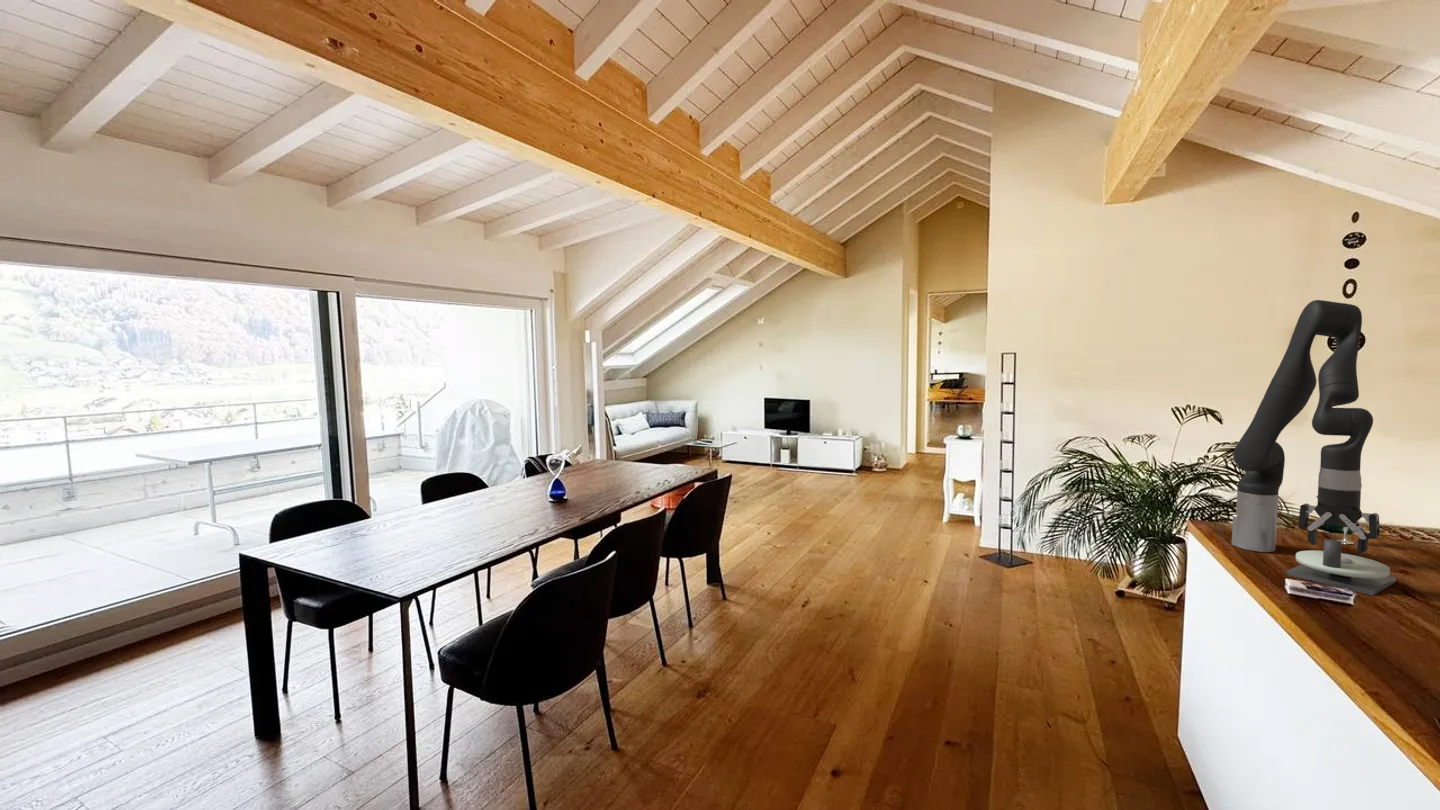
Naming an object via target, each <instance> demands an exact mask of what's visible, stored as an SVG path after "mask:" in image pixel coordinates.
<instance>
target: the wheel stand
mask: <svg viewBox="0 0 1440 810" xmlns="http://www.w3.org/2000/svg"><path fill="white" fill-rule="evenodd" d="M1286 576H1289V577H1294V578H1298V579H1302V578H1303V579H1304V580H1306V579H1307V581H1310V580H1312V581H1311V582H1314V581H1315V582H1314V583H1320V584H1323V583H1324V585H1327V586H1333V587H1336V586H1338V587H1337V588H1340V587H1342V588H1341V589H1344V588H1348V589H1350V590H1349V591H1351V592H1352V591H1353V592H1357V593H1360V594H1361V593H1362V594H1365V595H1370V596H1375V595H1376V594H1378V593H1380V592H1382V591H1383V590H1385V589H1386V588H1388V587H1390V586H1391V585H1393V584H1395V583H1396V577H1394V576H1390V575H1389V576H1388V577H1385V578H1358V577H1350V576H1343V575H1338V574H1332V573H1328V572H1324V571H1320V570H1316V569H1313V568H1310V567H1307V566H1304V565H1302V564H1299V565H1297V566H1294V567H1292V568H1290V569H1288V570H1286ZM1348 589H1347V590H1348Z"/></svg>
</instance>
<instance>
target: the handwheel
mask: <svg viewBox="0 0 1440 810" xmlns="http://www.w3.org/2000/svg"><path fill="white" fill-rule="evenodd" d="M1338 540H1339V539H1331V538H1324V539H1323V550H1314V549H1313V550H1301V551H1297V552H1296V553H1295V561H1296V562H1297V563H1298V564H1299V565H1301V564H1302V565H1304V566H1307V567H1310V568H1313V569H1316V570H1320V571H1324V572H1328V573H1332V574H1338V575H1343V576H1350V577H1358V578H1385V577H1388V576H1390V575H1391V568H1390V567H1389V566H1388V565H1386V564H1384V563H1382V562H1379V561H1377V560H1374V559H1370V558H1367V557H1362V556H1359V555H1354V554H1348V553H1343V552H1342V549H1343V544H1342V542H1341V541H1338Z"/></svg>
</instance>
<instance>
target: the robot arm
mask: <svg viewBox="0 0 1440 810" xmlns="http://www.w3.org/2000/svg"><path fill="white" fill-rule="evenodd" d="M1362 324H1363V315H1362V311H1361V309H1360V308H1359V306H1358V305H1355V304H1352V303H1351V304H1350V303H1343V302H1337V301H1329V300H1323V299H1322V300H1321V299H1315V300H1314V299H1313V300H1312V301H1310V302H1309V303H1307V304H1306V306H1304V308H1303V309H1302V311H1301V313H1300V315H1299V317H1298V319H1297V322H1296V324H1295V327H1294V330H1293V332H1292V334H1291V338H1290V340H1289V344H1288V345H1287V348H1286V350H1285V352H1284V355H1283V357H1282V359H1281V361H1280V364H1279V365H1278V367H1277V370H1276V372H1275V373H1274V375H1273V376H1272V378H1271V381H1270V382H1269V385H1268V387H1267V389H1266V391H1265V393H1264V395H1263V397H1262V400H1261V402H1260V404H1259V406H1258V408H1257V410H1256V412H1255V413H1254V417H1253V419H1252V421H1251V423H1250V424H1249V426H1248V428H1247V429H1246V431H1245V432H1244V433H1243V435H1242V437H1241V438H1240V440H1239V441H1238V443H1237V444H1236V446H1235V447H1234V449H1233V460H1234V462H1235V464H1236V466H1238V467H1239V468H1240V469H1241V470H1245V473H1244V475H1243V477H1242V478H1240V479H1239V480H1238V481H1237V491H1236V510H1235V511H1236V513H1234V514H1233V515H1232V526H1231V529H1232V531H1231V532H1232V533H1231V546H1235V547H1237V548H1240V549H1243V550H1247V551H1251V552H1252V551H1253V552H1260V553H1273V552H1275V551H1276V545H1277V528H1278V526H1277V525H1278V509H1279V491H1280V487H1281V486H1282V485H1283V482H1284V481H1283V479H1284V473H1285V472H1284V471H1285V464H1286V463H1285V460H1286V459H1285V458H1286V457H1285V451H1284V449H1283V447H1282V445H1280V444H1279V442H1277V440H1278V438H1279V436H1280V434H1281V433H1282V431H1283V430H1284V429H1285V428H1286V427H1287V426H1288V425H1289V424H1290V423H1291V422H1292V421H1293V420H1294V419H1295V418H1296V417H1297V416H1298V415H1299V414H1300V413H1301V412H1302V411H1303V410H1304V408H1305V407H1306V406H1307V403H1308V402H1309V400H1310V398H1311V396H1312V394H1313V393H1314V391H1315V388H1316V385H1317V380H1318V390H1319V391H1318V393H1319V397H1318V403H1317V406H1316V409H1315V412H1314V414H1313V416H1312V419H1311V426H1312V429H1313V431H1315V432H1316V433H1317V434H1319V435H1323V436H1341V437H1342V436H1343V437H1345V436H1346V437H1348V436H1349V438H1348V439H1347V440H1346V441H1344V442H1341V443H1333V444H1327V445H1324V446H1322V447H1321V449H1320V462H1319V463H1320V464H1319V465H1320V466H1319V473H1318V477H1317V479H1318V481H1317V482H1318V483H1317V503H1316V505H1311V504H1309V503H1303V504H1301V505H1300V506H1299V507H1300V508H1299V516H1298V523H1297V525H1298V526H1299V527H1300V528H1305V529H1306V530H1307V542H1308V543H1310V545H1311V546H1317V545H1318V537H1319V536H1318V534H1319V530H1318V528H1319V527H1321V526H1323V525H1325V524H1327V525H1328V526H1338V527H1340V528H1343V527H1348V529H1350V530H1351V531H1352V532H1354V533H1355V534H1356V536H1357V537H1358V539H1357V545H1356V546H1357V549H1356V550H1357V551H1356V553H1357V554H1359V555H1363V554H1364V553H1366V552H1367V551H1368V550H1369V549H1368V548H1369V540H1375V539H1377V538H1380V536H1381V531H1380V530H1381V529H1380V515H1379V513H1377V512H1374V513H1367V512H1363V511H1362V510H1361V500H1362V499H1361V498H1362V497H1361V495H1362V493H1361V492H1362V488H1363V487H1362V486H1363V485H1362V476H1361V475H1362V474H1361V462H1362V460H1361V459H1362V458H1361V457H1362V451H1363V447H1364V445H1365V442H1366V440H1367V438H1368V436H1369V434H1370V431H1371V430H1372V428H1373V425H1374V417H1373V415H1372V414H1371V412H1370V411H1369V410H1368V409H1365V408H1362V407H1337V406H1345V405H1349V404H1351V403H1355V402H1357V401H1358V399H1359V397H1360V391H1359V383H1358V382H1359V381H1358V380H1359V379H1358V375H1357V374H1358V373H1357V371H1358V370H1357V361H1358V354H1359V348H1360V339H1361V332H1362ZM1316 336H1321V337H1322V336H1323V337H1328V338H1329V337H1330V338H1334V339H1335V341H1336V349H1335V350H1334V352H1332V353H1331V355H1330V356H1329V357H1328V358H1327V359H1326V360H1325V362H1324V363H1323V364H1322V365H1321V367H1320V368H1319V371H1318V378H1317V376H1316V371H1315V369H1314V366H1313V362H1312V358H1311V349H1312V345H1313V341H1314V340H1315V337H1316ZM1313 511H1315V513H1316V514H1317V516H1319V517H1318V518H1317V519H1316V520H1315V521H1313V522H1312V523H1309V517H1310V514H1313ZM1362 518H1363V519H1364V521H1365V522H1367V523H1368V528H1369V529H1368V531H1369V532H1367V531H1366V530H1365V529H1364V528H1363V526H1362V524H1360V520H1361V519H1362ZM1359 519H1360V520H1359ZM1358 520H1359V522H1358Z"/></svg>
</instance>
